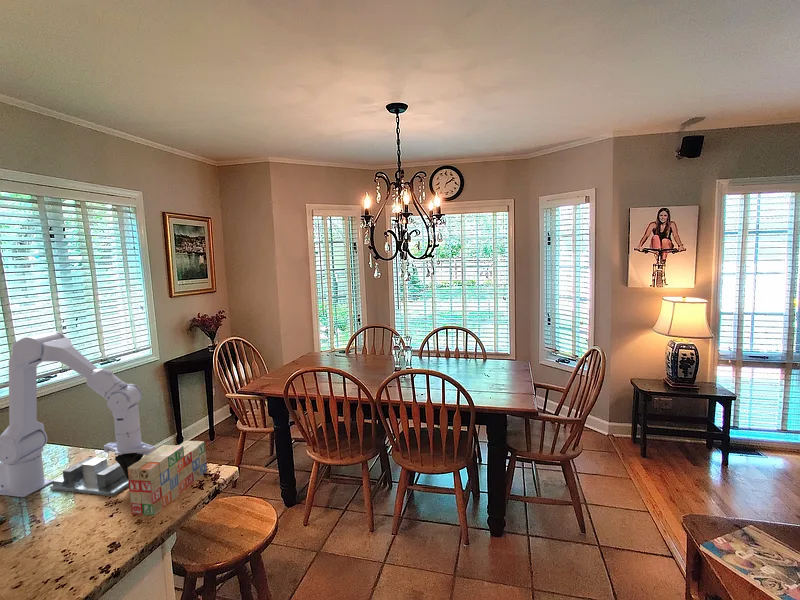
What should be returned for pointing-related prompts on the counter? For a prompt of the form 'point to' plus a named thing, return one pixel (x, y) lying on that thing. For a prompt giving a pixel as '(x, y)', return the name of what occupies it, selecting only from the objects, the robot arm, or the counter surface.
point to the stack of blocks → (165, 475)
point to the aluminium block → (93, 468)
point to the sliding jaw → (110, 475)
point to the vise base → (74, 482)
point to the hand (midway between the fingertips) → (132, 477)
